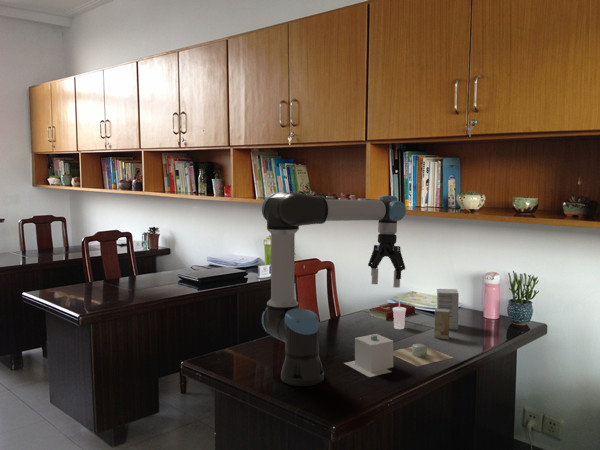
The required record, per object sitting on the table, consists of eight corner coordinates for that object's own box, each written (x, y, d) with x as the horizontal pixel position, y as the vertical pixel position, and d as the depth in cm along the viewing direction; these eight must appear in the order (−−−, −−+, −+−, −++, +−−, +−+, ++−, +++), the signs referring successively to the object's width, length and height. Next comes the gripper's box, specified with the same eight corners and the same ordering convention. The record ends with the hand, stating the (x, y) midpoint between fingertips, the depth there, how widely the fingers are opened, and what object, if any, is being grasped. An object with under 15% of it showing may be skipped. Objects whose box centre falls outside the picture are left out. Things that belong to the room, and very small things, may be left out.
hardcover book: (415, 314, 272) (415, 306, 272) (386, 321, 260) (386, 312, 259) (397, 309, 282) (397, 301, 281) (368, 316, 269) (368, 308, 269)
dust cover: (371, 372, 192) (371, 342, 191) (354, 364, 200) (354, 334, 199) (393, 367, 197) (393, 337, 195) (376, 359, 205) (376, 330, 204)
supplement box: (458, 330, 243) (459, 293, 241) (437, 329, 245) (437, 292, 243) (456, 324, 252) (457, 288, 251) (436, 323, 254) (436, 288, 252)
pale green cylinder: (418, 358, 205) (419, 349, 205) (409, 354, 210) (409, 345, 210) (430, 355, 208) (430, 346, 208) (420, 351, 213) (420, 342, 213)
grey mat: (369, 378, 188) (369, 377, 188) (343, 364, 202) (343, 363, 202) (405, 369, 195) (405, 368, 195) (378, 356, 209) (378, 355, 209)
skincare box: (433, 338, 231) (434, 310, 230) (433, 335, 235) (434, 308, 234) (449, 339, 229) (449, 311, 228) (449, 336, 233) (449, 309, 232)
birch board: (417, 367, 197) (417, 366, 197) (386, 353, 213) (386, 352, 213) (453, 359, 206) (453, 357, 206) (421, 346, 221) (421, 344, 221)
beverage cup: (401, 330, 243) (401, 300, 242) (389, 328, 247) (390, 298, 246) (408, 327, 248) (408, 297, 246) (396, 325, 252) (397, 295, 250)
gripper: (415, 234, 211) (413, 288, 211) (374, 233, 232) (372, 282, 232) (401, 233, 207) (399, 289, 207) (361, 232, 228) (359, 282, 228)
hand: (385, 285), depth 219 cm, fingers open, 13 cm apart
